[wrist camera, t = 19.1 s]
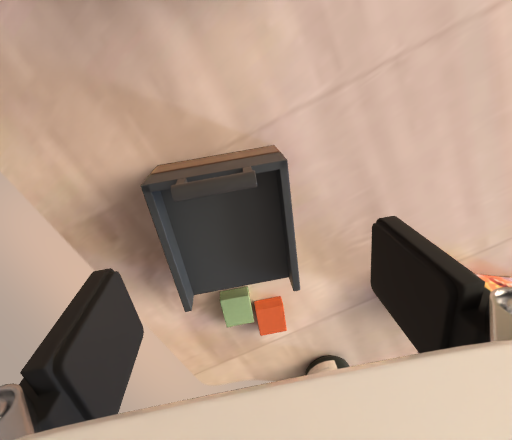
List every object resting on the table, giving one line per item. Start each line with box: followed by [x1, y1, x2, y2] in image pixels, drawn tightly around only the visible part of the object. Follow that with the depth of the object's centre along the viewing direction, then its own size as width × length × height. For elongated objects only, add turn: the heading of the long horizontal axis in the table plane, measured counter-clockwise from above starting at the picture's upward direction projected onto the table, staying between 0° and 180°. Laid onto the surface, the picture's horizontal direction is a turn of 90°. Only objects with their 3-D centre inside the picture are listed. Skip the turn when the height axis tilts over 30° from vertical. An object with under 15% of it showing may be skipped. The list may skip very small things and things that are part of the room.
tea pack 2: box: [254, 296, 287, 336], centre depth 42 cm, size 5×4×2 cm
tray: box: [141, 152, 300, 312], centre depth 29 cm, size 16×14×7 cm
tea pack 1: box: [220, 287, 254, 327], centre depth 41 cm, size 5×4×2 cm
